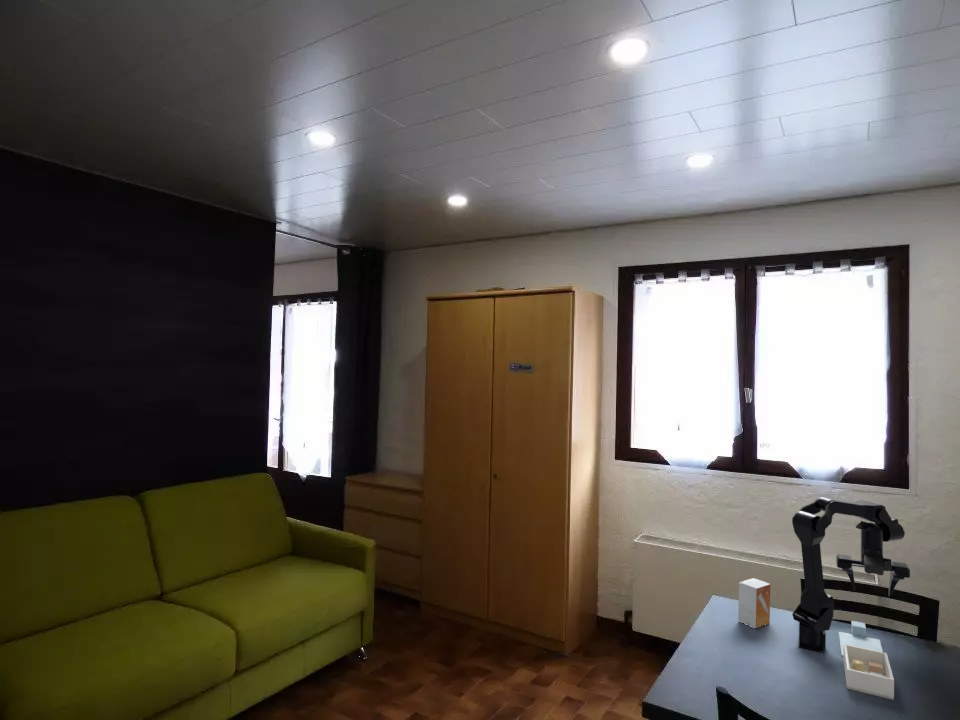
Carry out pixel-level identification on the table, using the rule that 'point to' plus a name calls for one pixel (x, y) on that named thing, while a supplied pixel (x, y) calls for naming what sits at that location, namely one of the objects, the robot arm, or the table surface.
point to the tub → (868, 671)
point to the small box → (754, 602)
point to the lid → (858, 638)
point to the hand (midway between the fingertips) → (871, 593)
